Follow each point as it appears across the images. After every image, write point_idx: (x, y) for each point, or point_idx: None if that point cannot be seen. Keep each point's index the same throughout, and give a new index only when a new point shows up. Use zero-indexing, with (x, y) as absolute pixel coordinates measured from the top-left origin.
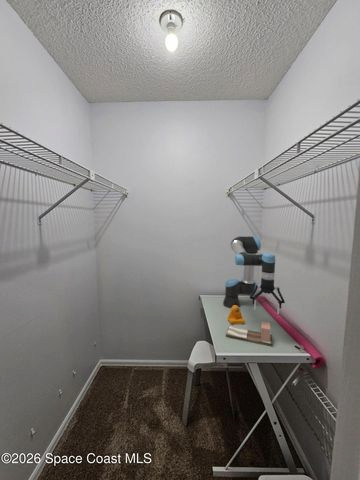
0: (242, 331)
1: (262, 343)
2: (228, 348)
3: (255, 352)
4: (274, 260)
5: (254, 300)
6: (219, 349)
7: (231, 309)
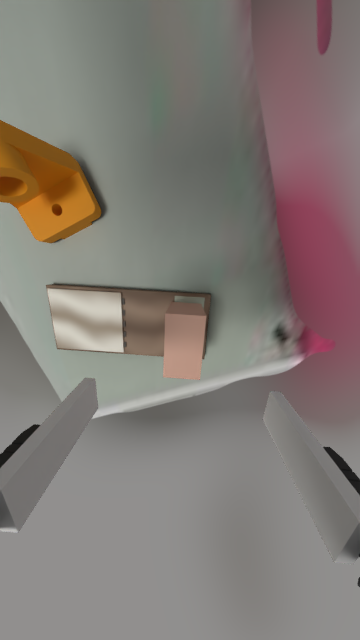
0: (103, 314)
1: None
2: None
3: (154, 393)
4: None
5: (2, 513)
6: None
7: None
